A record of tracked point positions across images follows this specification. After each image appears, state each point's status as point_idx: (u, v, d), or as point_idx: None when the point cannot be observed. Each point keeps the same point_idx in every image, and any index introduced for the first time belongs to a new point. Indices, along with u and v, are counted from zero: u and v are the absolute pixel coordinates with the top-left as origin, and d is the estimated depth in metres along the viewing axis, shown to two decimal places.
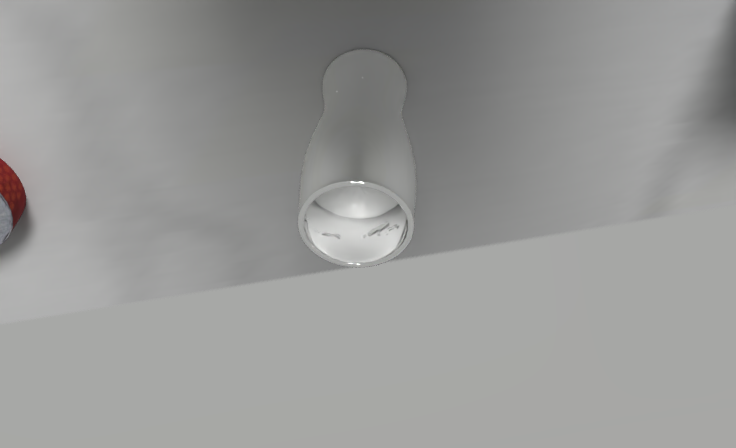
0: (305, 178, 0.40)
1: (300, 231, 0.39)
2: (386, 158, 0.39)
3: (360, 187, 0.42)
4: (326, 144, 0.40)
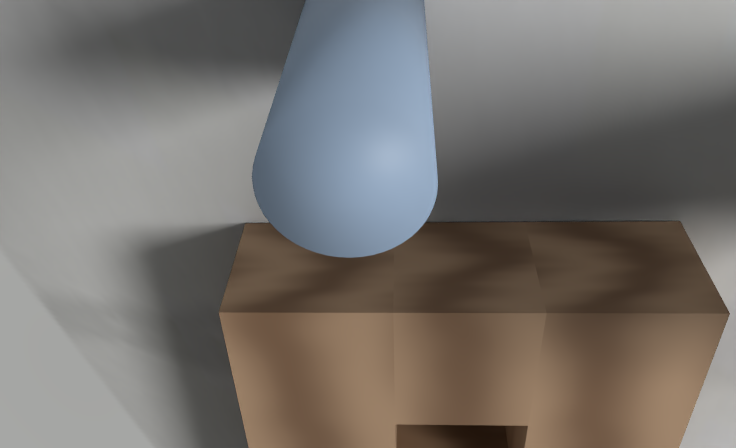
0: None
1: None
2: None
3: None
4: None
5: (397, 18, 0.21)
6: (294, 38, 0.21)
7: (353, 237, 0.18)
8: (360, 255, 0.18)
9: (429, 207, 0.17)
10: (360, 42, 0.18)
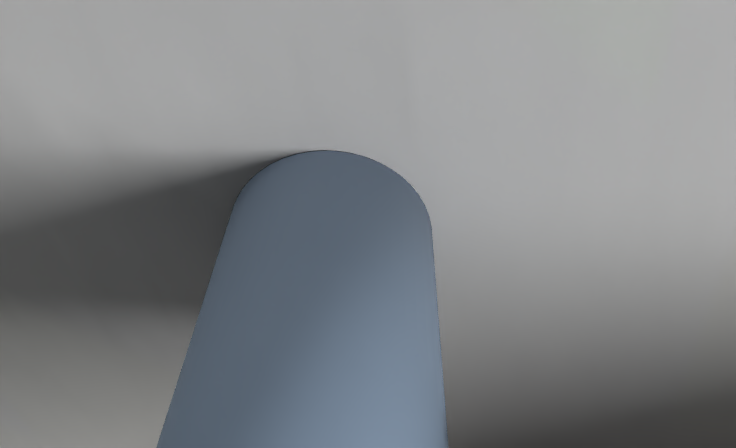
0: None
1: None
2: None
3: None
4: None
5: (383, 387, 0.10)
6: (173, 401, 0.10)
7: None
8: None
9: None
10: None
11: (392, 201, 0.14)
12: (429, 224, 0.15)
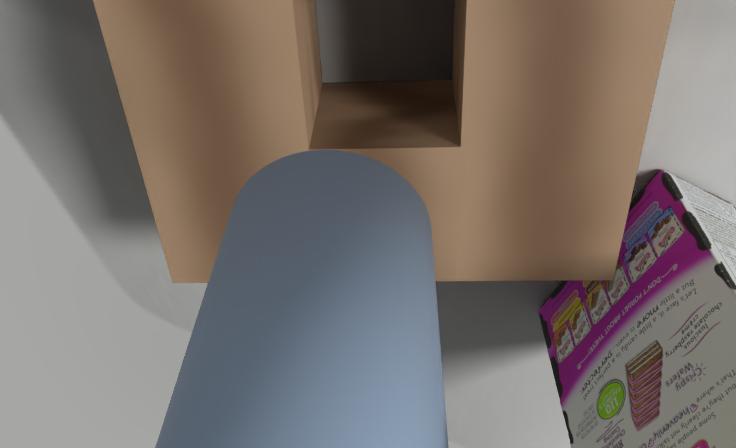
0: None
1: None
2: None
3: None
4: None
5: (383, 385, 0.10)
6: (172, 400, 0.10)
7: None
8: None
9: None
10: None
11: (392, 200, 0.14)
12: (429, 223, 0.15)
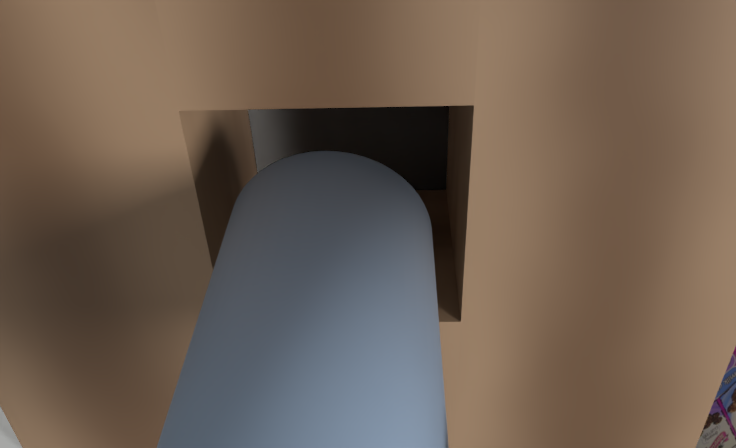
0: None
1: None
2: None
3: None
4: None
5: (383, 387, 0.10)
6: (173, 402, 0.10)
7: None
8: None
9: None
10: None
11: (392, 201, 0.14)
12: (429, 224, 0.15)
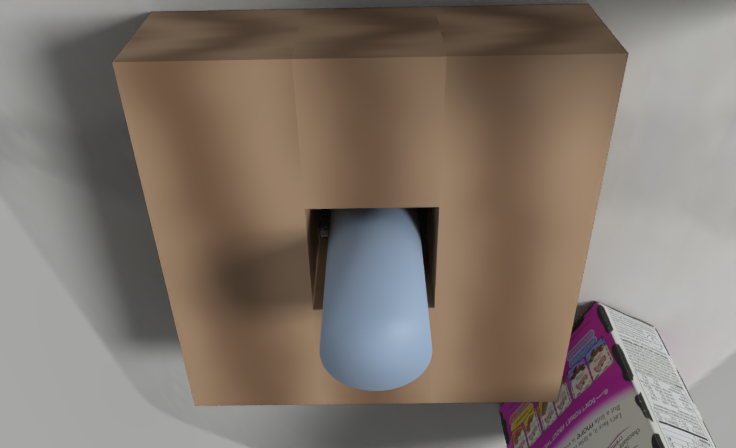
0: None
1: None
2: None
3: None
4: None
5: (402, 225, 0.32)
6: (333, 234, 0.32)
7: (379, 379, 0.29)
8: (383, 389, 0.29)
9: (427, 363, 0.28)
10: (381, 255, 0.29)
11: None
12: None
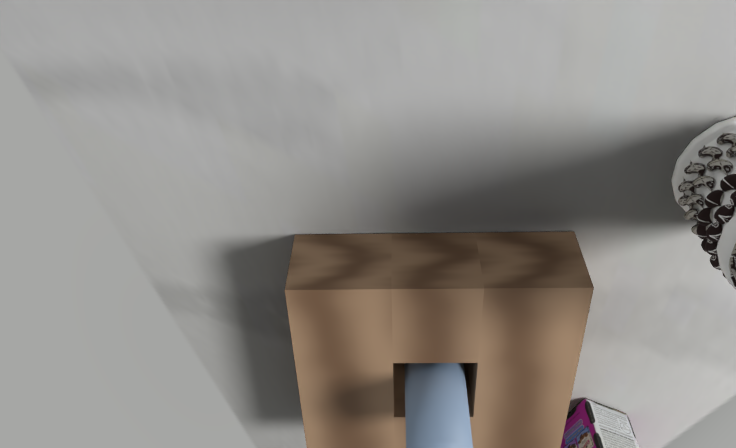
0: None
1: None
2: None
3: None
4: None
5: (453, 371, 0.50)
6: (409, 374, 0.51)
7: None
8: None
9: None
10: (442, 397, 0.48)
11: None
12: None
